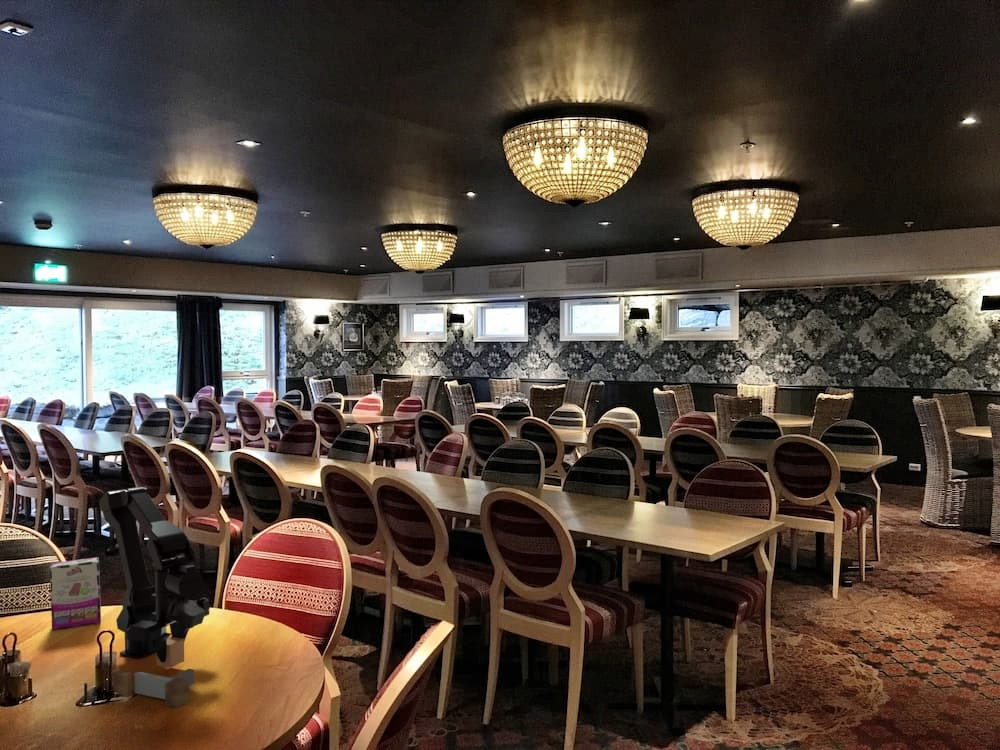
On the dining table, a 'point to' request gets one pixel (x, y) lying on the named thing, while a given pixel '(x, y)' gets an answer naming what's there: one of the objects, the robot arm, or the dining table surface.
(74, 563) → the candy bar box
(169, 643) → the tan rectangular block
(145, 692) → the grey l-shaped bracket
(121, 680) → the grey-brown blocks
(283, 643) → the dining table surface
